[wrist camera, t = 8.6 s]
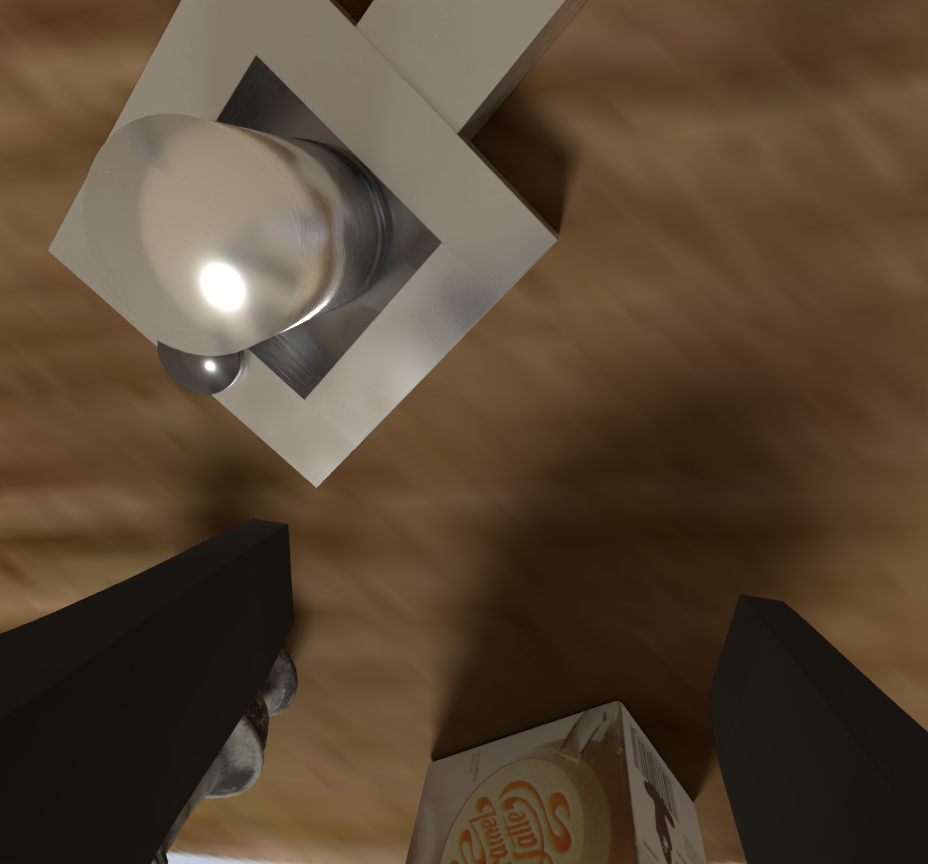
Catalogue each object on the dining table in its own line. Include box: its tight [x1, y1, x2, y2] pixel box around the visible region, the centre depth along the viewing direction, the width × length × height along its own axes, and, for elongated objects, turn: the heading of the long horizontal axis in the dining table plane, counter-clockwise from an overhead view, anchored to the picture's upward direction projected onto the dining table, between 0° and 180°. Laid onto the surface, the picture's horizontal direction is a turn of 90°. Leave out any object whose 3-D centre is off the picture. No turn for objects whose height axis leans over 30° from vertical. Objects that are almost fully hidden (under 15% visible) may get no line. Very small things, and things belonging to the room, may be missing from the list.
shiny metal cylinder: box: [83, 113, 391, 356], centre depth 14 cm, size 4×4×6 cm
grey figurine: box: [151, 648, 297, 864], centre depth 19 cm, size 6×6×12 cm
